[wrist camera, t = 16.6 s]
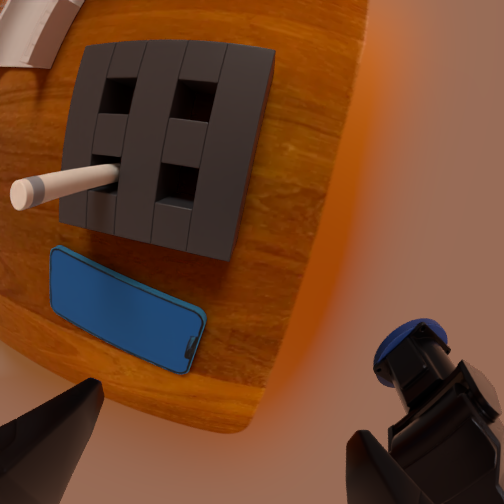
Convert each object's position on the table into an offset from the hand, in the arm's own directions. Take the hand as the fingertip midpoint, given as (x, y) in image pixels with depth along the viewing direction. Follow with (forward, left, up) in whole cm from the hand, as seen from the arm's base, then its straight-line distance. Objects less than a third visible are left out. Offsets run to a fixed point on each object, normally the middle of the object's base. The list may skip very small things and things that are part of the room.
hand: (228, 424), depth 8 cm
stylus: (+11, -1, -13) cm, 17 cm away
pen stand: (+10, -4, -13) cm, 17 cm away
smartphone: (+7, +10, -13) cm, 18 cm away
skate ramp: (+30, -10, -13) cm, 34 cm away
